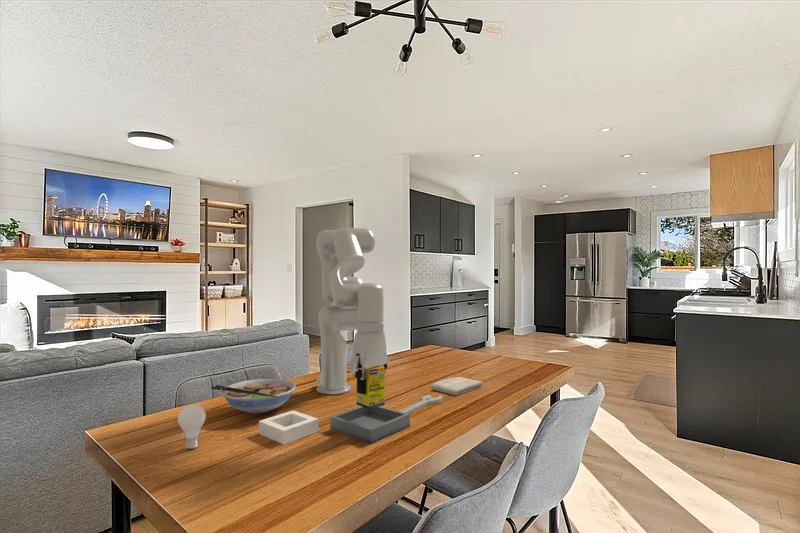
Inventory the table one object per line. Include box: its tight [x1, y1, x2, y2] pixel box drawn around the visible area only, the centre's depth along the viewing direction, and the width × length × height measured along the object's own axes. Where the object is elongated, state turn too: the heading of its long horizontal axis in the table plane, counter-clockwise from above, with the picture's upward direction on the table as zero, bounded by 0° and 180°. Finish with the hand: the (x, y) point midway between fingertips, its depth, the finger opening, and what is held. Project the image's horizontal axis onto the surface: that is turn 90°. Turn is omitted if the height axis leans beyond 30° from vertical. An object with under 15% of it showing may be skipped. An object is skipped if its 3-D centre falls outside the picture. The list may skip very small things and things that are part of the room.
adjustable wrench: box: [398, 394, 444, 415], centre depth 140 cm, size 25×6×2 cm, turn 138°
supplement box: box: [355, 366, 386, 409], centre depth 121 cm, size 6×6×11 cm
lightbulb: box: [177, 404, 207, 450], centre depth 107 cm, size 6×6×11 cm
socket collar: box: [258, 410, 320, 445], centre depth 118 cm, size 12×12×4 cm
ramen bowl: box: [210, 378, 297, 415], centre depth 137 cm, size 25×23×8 cm
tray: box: [330, 405, 411, 445], centre depth 121 cm, size 16×16×4 cm
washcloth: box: [431, 376, 483, 397], centre depth 162 cm, size 12×18×3 cm, turn 137°
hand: (370, 389), depth 121 cm, fingers closed on supplement box, 6 cm apart
